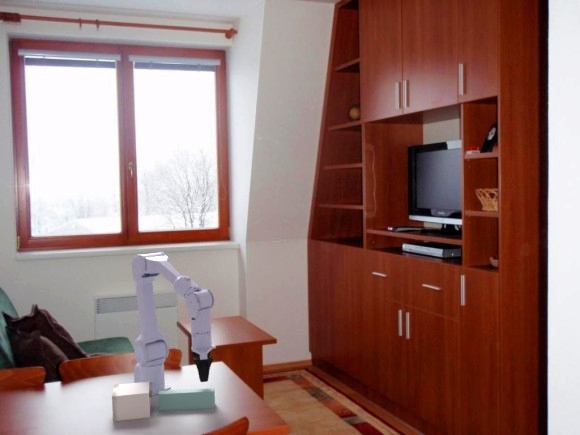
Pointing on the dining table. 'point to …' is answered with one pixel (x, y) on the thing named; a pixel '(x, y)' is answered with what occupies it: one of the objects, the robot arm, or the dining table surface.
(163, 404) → the mint green rectangular block
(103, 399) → the dining table surface
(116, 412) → the white box
